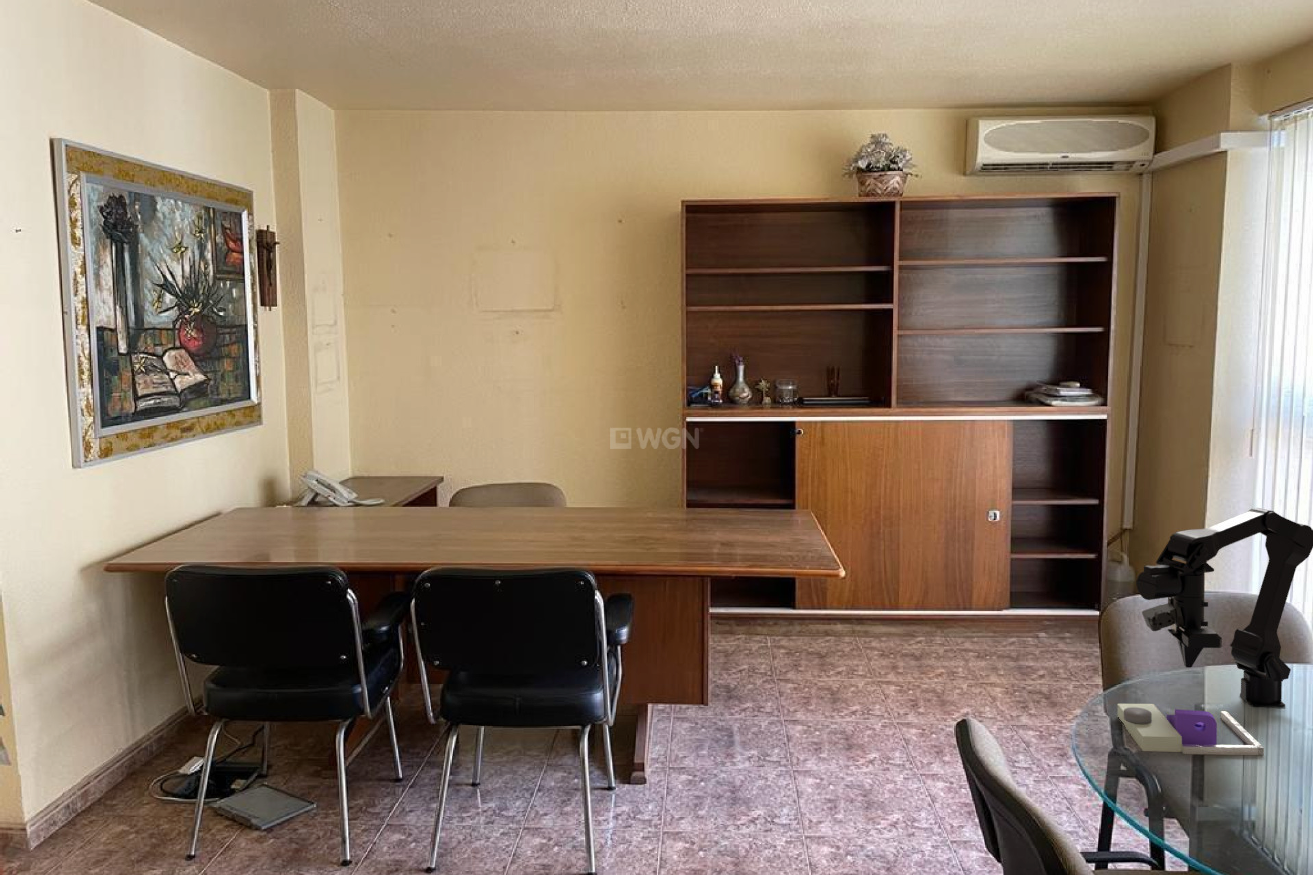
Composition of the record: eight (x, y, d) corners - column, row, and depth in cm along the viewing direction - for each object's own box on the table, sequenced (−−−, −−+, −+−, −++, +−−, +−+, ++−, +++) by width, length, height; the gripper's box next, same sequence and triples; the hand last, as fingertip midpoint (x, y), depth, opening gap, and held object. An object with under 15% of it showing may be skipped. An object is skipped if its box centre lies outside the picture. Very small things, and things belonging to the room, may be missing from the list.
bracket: (1216, 750, 185) (1216, 716, 184) (1176, 746, 187) (1176, 713, 186) (1203, 724, 196) (1204, 692, 195) (1166, 721, 198) (1166, 690, 197)
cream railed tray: (1226, 718, 197) (1226, 697, 197) (1263, 755, 181) (1263, 732, 180) (1112, 717, 201) (1112, 696, 201) (1138, 753, 184) (1138, 730, 184)
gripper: (1132, 582, 208) (1132, 651, 210) (1162, 607, 190) (1162, 683, 191) (1187, 581, 206) (1187, 651, 208) (1223, 607, 188) (1222, 683, 190)
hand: (1188, 666), depth 199 cm, fingers closed
